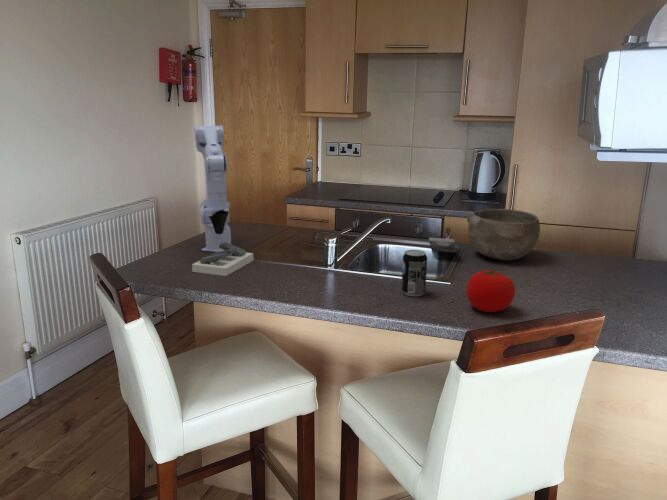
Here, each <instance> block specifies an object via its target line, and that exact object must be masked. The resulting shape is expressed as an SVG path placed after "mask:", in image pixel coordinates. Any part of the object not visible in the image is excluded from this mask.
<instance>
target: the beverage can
mask: <svg viewBox="0 0 667 500" xmlns="http://www.w3.org/2000/svg"><path fill="white" fill-rule="evenodd" d="M427 267H428V256H427V253H426V251H424V250H420V249H407V250H405V251H404V253H403V256H402V270H401V271H402V272H401V273H402V274H401V292H402V293H403V294H404V295H405V296H406V297H407V296H408V297H417V298H418V297H421V296H423V295H424V294H425V293H426V287H427V286H426V285H427V269H428V268H427Z"/></svg>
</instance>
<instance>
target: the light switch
mask: <svg viewBox="0 0 667 500" xmlns="http://www.w3.org/2000/svg"><path fill="white" fill-rule="evenodd" d="M428 243H429V246H430V249H431V251H434V252H445V253H457V248H456V240H455V239H452V238H438V237H429V238H428ZM441 258H442V257H441Z"/></svg>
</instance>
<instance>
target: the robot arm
mask: <svg viewBox="0 0 667 500" xmlns="http://www.w3.org/2000/svg"><path fill="white" fill-rule="evenodd" d="M194 141H195V148H196V151H197V152H199V153H201V154H202V158H203V159H204V171H205V173H204V174H205V185H206V196H207V197H206V198H205V199H204V200H202V201H201V202H200V205H199V207H200V208H199V211H200V212H199V213H200V223H201V225H204V231H205V232H204V233H205V234H204V235H205V246H204V247H203V248H201V251H202V252H203V251H204V252H212V253H215V252H218V251H221V250H223V249H221V248H219V246H220V244H222V243H224V242H227V243H229V244H231V245H232V234H231V227H230V226H229V225H228V224H229V222H230V208H231V202H230V201H227V179H226V177H227V176H226V174H227V169H228V161H227V155H226V153H224V152H223V150H224V149H223V148H224V142H225V132H224V126H223V125H194Z"/></svg>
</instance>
